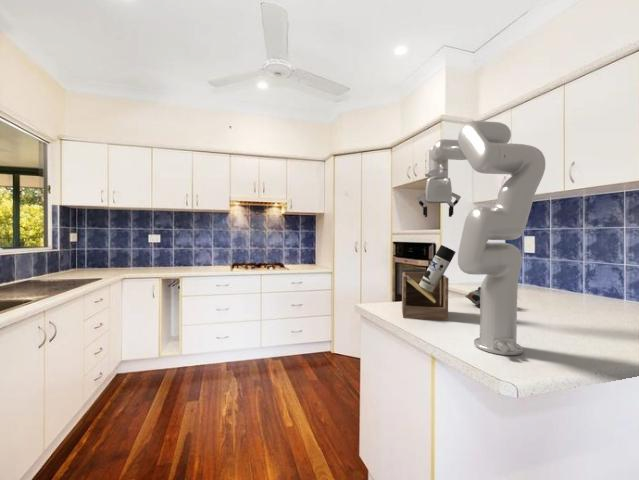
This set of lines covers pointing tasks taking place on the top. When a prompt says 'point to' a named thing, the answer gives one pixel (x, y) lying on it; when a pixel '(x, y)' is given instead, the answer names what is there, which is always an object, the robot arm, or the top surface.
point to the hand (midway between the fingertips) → (437, 216)
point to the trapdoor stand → (424, 299)
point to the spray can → (436, 269)
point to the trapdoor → (420, 288)
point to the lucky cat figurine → (475, 296)
